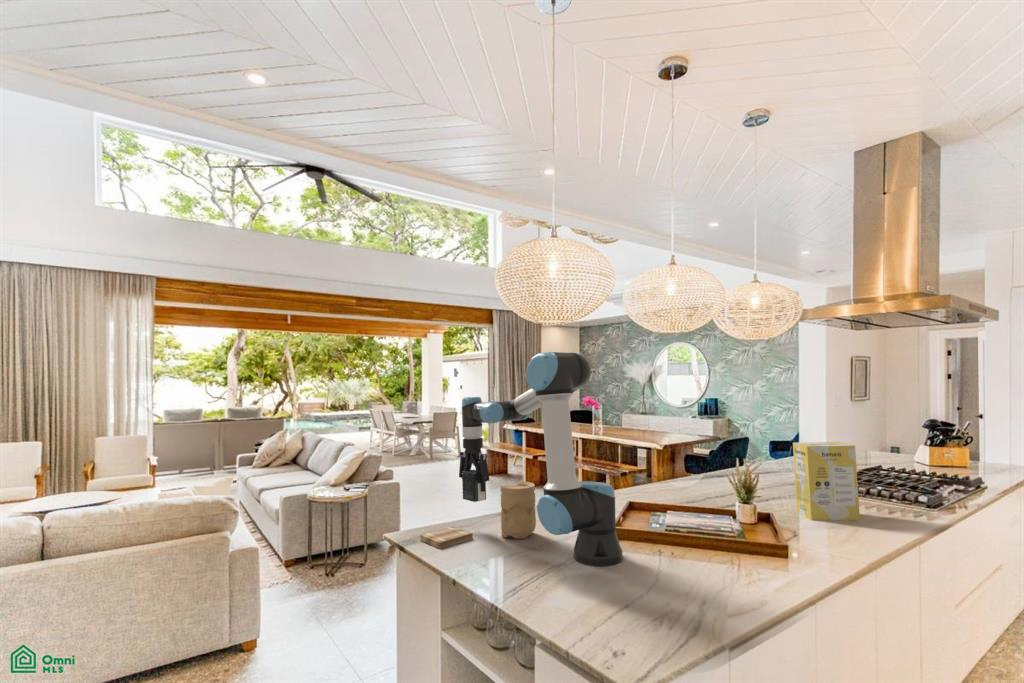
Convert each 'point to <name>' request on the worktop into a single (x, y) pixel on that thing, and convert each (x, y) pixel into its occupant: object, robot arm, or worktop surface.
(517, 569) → the worktop surface
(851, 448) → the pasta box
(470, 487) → the box
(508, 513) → the container
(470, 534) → the board
